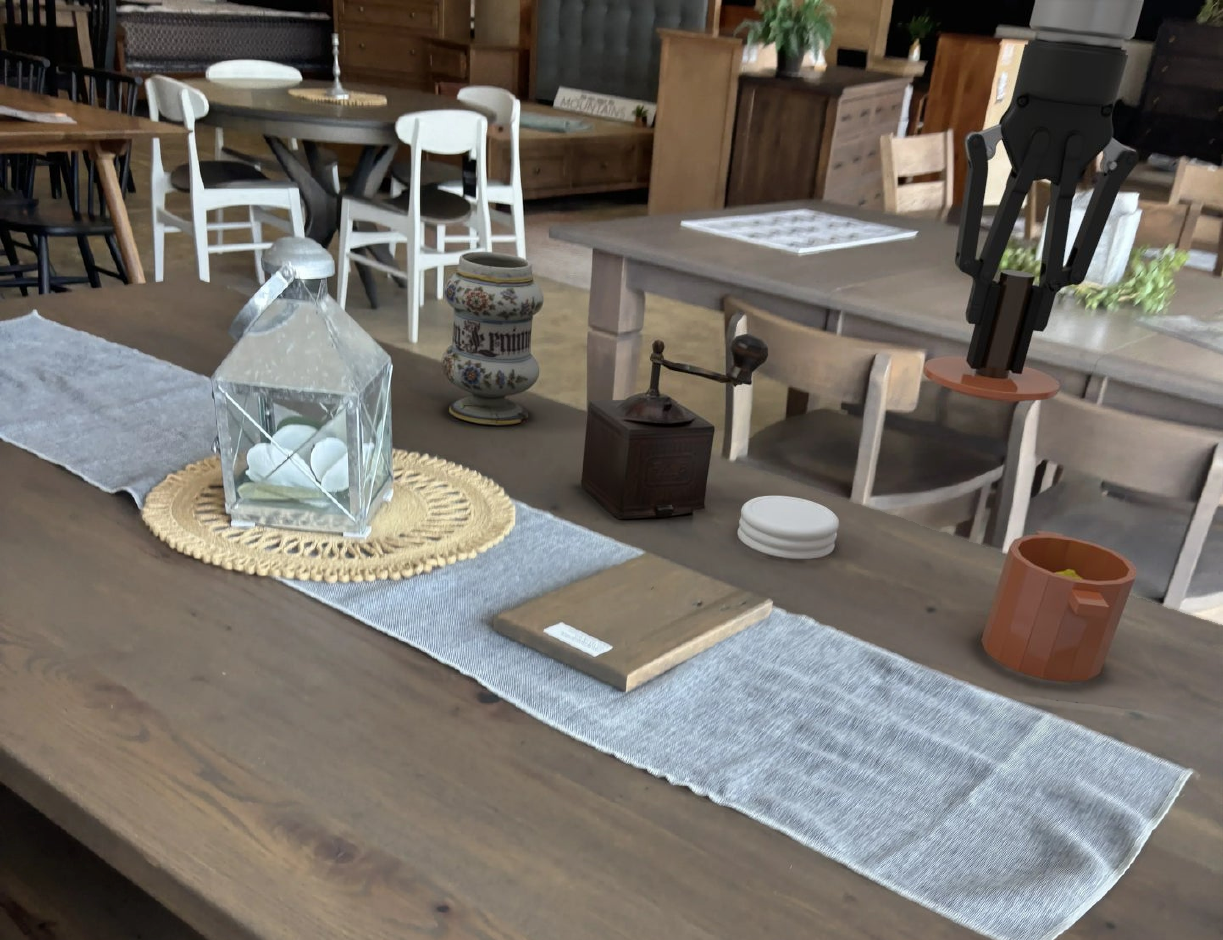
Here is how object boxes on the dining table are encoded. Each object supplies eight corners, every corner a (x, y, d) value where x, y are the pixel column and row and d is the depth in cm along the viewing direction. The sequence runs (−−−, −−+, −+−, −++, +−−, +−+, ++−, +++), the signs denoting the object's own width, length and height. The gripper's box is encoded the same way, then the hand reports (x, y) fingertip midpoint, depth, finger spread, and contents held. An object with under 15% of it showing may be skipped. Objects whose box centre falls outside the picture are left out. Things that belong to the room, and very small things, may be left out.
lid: (1040, 378, 107) (1071, 268, 102) (1069, 414, 98) (1105, 295, 93) (913, 364, 108) (938, 253, 102) (930, 399, 98) (958, 279, 93)
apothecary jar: (520, 435, 144) (529, 274, 134) (426, 418, 146) (427, 259, 136) (548, 409, 154) (557, 257, 144) (459, 394, 156) (462, 243, 145)
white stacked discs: (851, 549, 124) (858, 516, 122) (797, 572, 117) (803, 538, 115) (773, 518, 129) (779, 487, 127) (717, 539, 123) (722, 506, 120)
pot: (1076, 627, 113) (1109, 531, 108) (1122, 708, 100) (1162, 604, 95) (966, 613, 113) (994, 517, 108) (998, 693, 100) (1031, 588, 95)
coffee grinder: (620, 523, 124) (640, 341, 113) (578, 485, 132) (592, 313, 121) (749, 513, 130) (778, 340, 120) (701, 477, 138) (724, 312, 128)
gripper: (1170, 50, 92) (1076, 366, 105) (963, 28, 92) (895, 346, 105) (1202, 53, 85) (1097, 389, 99) (980, 30, 86) (905, 368, 99)
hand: (993, 366), depth 102 cm, fingers closed on lid, 3 cm apart
